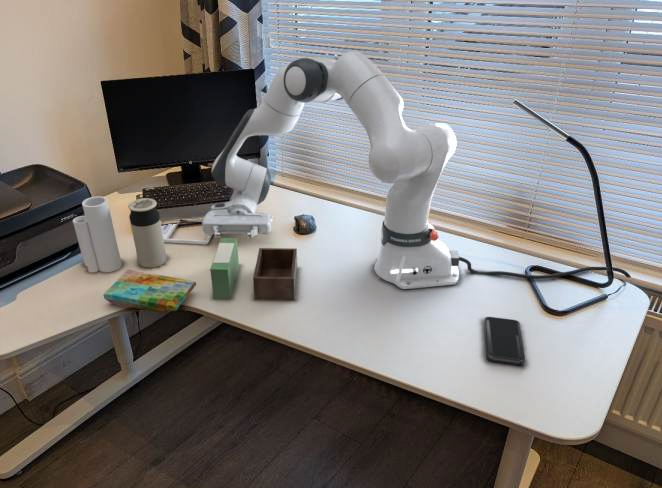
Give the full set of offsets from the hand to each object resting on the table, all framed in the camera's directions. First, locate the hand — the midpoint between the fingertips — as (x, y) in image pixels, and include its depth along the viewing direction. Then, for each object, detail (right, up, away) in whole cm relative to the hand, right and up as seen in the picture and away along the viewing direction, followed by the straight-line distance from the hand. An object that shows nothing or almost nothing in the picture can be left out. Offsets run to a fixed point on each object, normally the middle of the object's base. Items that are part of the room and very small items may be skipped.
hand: (233, 236), depth 159 cm
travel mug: (-23, -7, 0) cm, 24 cm away
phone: (+65, -27, -33) cm, 77 cm away
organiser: (+13, -14, -11) cm, 21 cm away
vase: (-37, -9, -1) cm, 38 cm away
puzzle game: (-19, -18, -15) cm, 31 cm away
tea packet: (-1, -9, -12) cm, 15 cm away
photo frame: (-16, +3, +15) cm, 22 cm away
